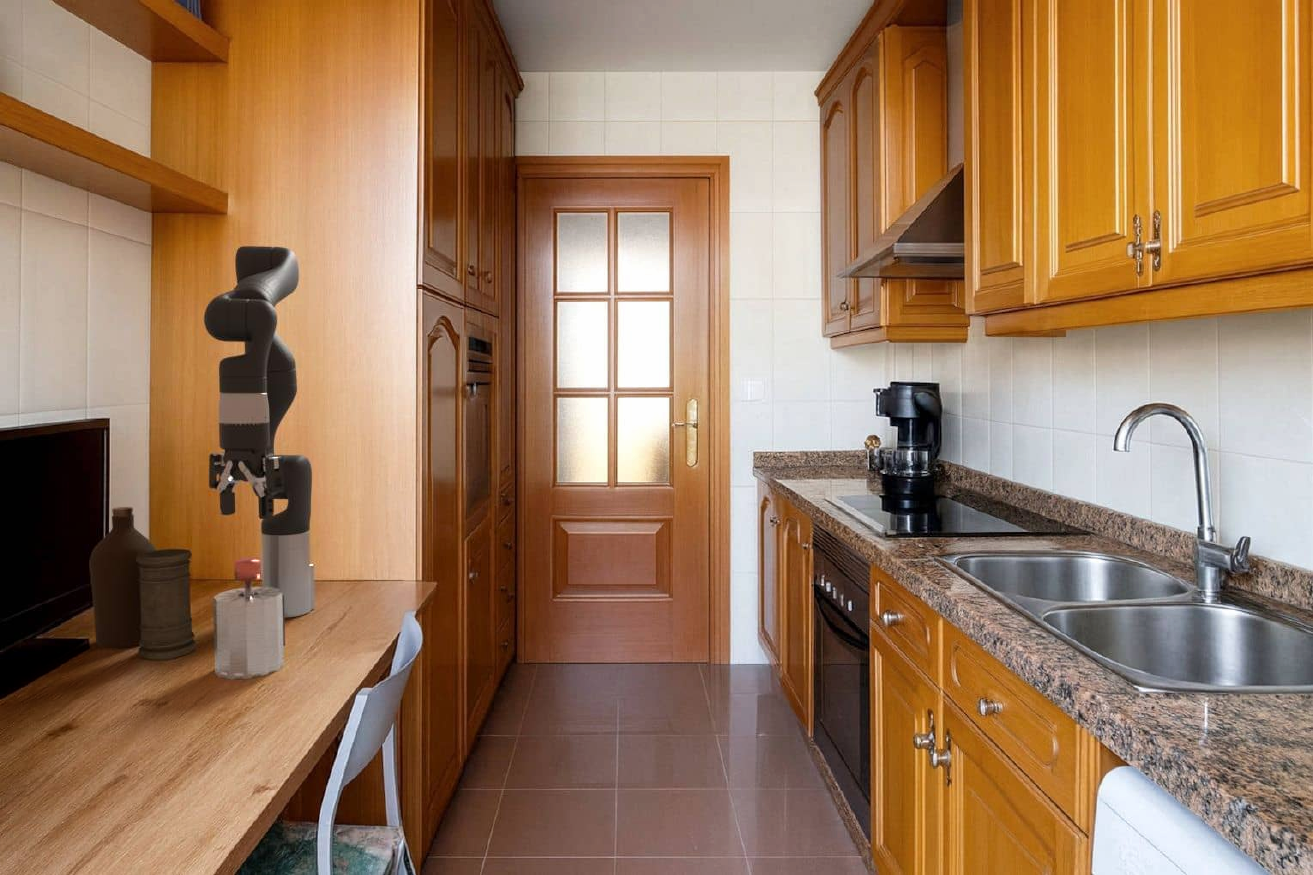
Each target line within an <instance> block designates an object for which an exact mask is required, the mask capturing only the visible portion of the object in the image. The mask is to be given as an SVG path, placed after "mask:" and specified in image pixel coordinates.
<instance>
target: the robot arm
mask: <svg viewBox="0 0 1313 875" xmlns="http://www.w3.org/2000/svg"><path fill="white" fill-rule="evenodd" d="M235 252H236V253H235V258H234V266H235V268H234V269H235V277H236V286H235V287H234V288H233V290H229V291H226V292H225V293H222V294H219V295H217V296H215V297H214V298H213V299H212V300H210V301H209V303H208V305H207V306H206V308H205V311H204V315H203V321H204V323H203V324H204V326H205V330H206V331H207V333H208V334H209V335H210V336H211V337H212V338H213V339H215V340H217V341H220V342H225V343H226V342H229V343H233V342H234V343H244V353H243V354H239V355H238V354H237V355H233V356H228V357H224V358H222V359H221V360H220V361H219V365H218V378H219V379H218V380H219V383H218V384H219V386H218V387H219V399H218V411H217V412H218V437H219V438H218V439H219V441H218V443H219V448H220V449H221V450H224V452H214V453H210V454H209V456H208V457H209V460H208V461H209V462H208V463H209V464H208V470H209V471H208V473H209V474H208V487H209V488H210V489H215V490H216V492H217V493H218V494H219V509H220V513H221V515H222V516H230V515H231V516H232V515H235V513H236V494H235V493H236V492H235V491H234V490H235V488H236V487H237V485H238V484H239V483H240V482H241V481H243V482H248V483H249V485H250V486H252V487H251V488H252V490H253V493H254V494H255V496H256V497H257V499H258V501H257V502H258V518H259V519H260V520H261V522H260V525H261V526H260V532H261V533H260V534H261V535H260V537H261V540H260V541H261V580H262V584H261V585H262V586H261V587H272V588H278V589H279V590H281V591H282V596H284V615H285V619H286V618H294V617H300V616H304V615H305V614H308V613H309V612H311V610H313V609H315V608H316V607H315V604H316V602H315V566H314V564H312V563H311V541H310V540H311V534H310V533H311V531H310V530H311V528H310V527H311V526H310V525H311V517H312V514H311V513H312V490H313V489H312V488H313V486H312V485H313V471H312V470H313V469H312V464H311V461H310V460H309V458H308V457H306V456H305V455H301V454H276V453H275V439H276V438H275V437H276V433H277V431H278V428H279V426H280V425H281V422H282V420H283V419H284V417H285V415H286V414H287V413H288V410H290V408H291V406H292V404H293V402H294V400H295V399H296V396H297V392H298V381H297V380H298V379H297V365H296V364H297V363H296V359H295V357H294V355H293V353H292V351H291V350H290V348H289V347H288V346H287V344H286V343H285V342H284V341H283V340H282V338H281V337H280V335H279V334H278V333H277V332H276V330H277V326H278V315H277V311H276V309H275V307H276V305H277V304H279V303H280V302H282V300H284V299H286V298H287V297H288V296H290V295H291V294H293V293H294V292H295V290H296V289H297V288H298V285H299V281H300V280H299V279H300V270H299V263H298V259H297V256H296V254H295V252H293V250H292V249H290V248H287V247H281V246H263V245H262V246H261V245H260V246H259V245H258V246H257V245H255V246H253V245H252V246H251V245H244V246H239V247H238V248H237V250H236V251H235ZM217 475H218V478H217ZM217 479H218V480H217ZM274 500H287V506H286V508H285V509H283V510H282V511H280V512H278V513H275V508H274V507H275V501H274ZM274 513H275V514H274Z"/></svg>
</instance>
